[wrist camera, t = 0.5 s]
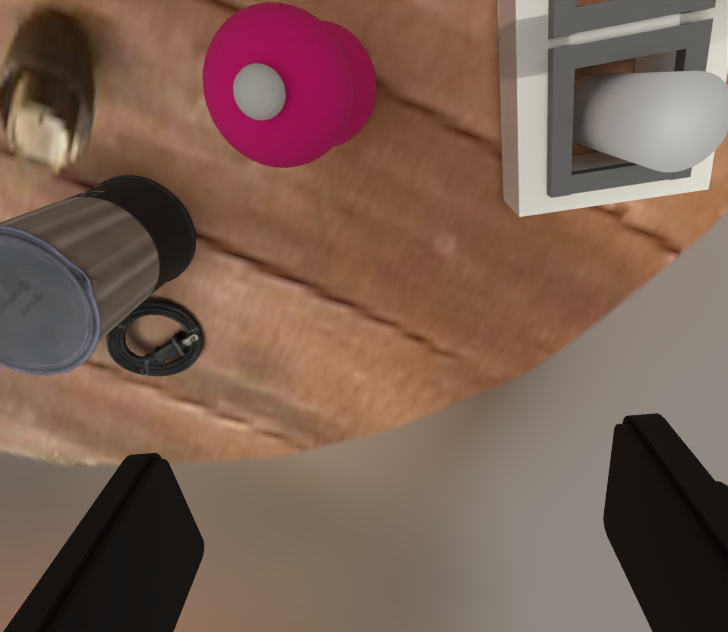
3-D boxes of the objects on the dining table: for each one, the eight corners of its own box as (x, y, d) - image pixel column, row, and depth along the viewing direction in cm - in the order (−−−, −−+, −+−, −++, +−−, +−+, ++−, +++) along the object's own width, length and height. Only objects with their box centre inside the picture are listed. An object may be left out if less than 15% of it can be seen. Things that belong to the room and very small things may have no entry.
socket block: (492, -138, 27) (558, -281, 16) (711, -191, 26) (940, -384, 15) (503, 200, 36) (551, 250, 25) (667, 175, 34) (791, 217, 24)
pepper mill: (309, 3, 31) (197, -106, 13) (398, 70, 32) (407, 56, 14) (259, 102, 34) (112, 125, 16) (343, 160, 35) (294, 240, 17)
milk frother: (134, 148, 36) (-17, 187, 22) (275, 296, 41) (219, 398, 28) (33, 255, 40) (-142, 340, 27) (171, 376, 45) (80, 497, 32)
